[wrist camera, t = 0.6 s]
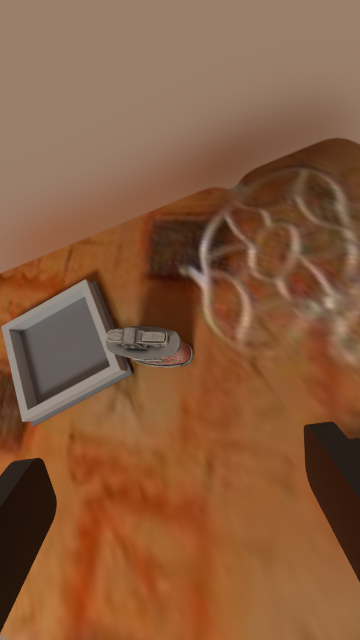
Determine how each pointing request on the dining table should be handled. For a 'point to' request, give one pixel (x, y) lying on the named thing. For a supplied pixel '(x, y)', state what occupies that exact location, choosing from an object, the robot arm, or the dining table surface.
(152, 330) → the lighter
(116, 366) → the tray
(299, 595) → the dining table surface
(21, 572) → the robot arm
